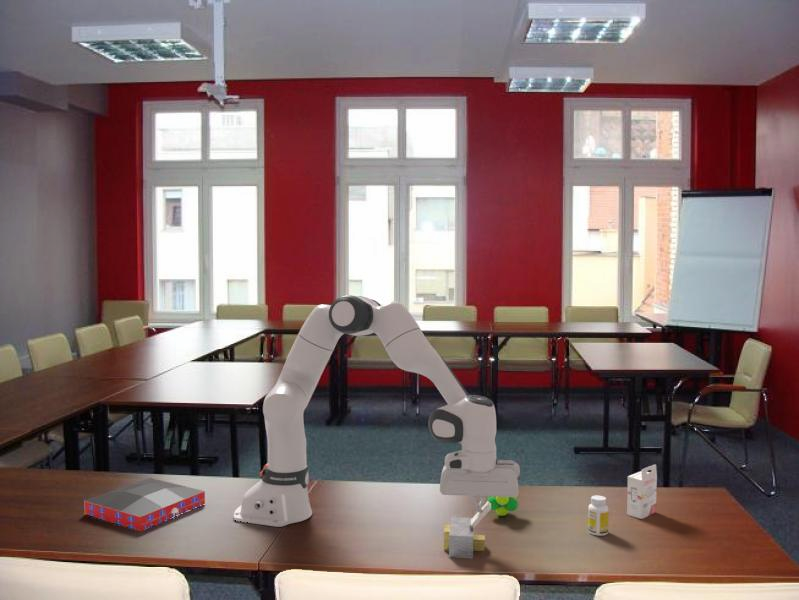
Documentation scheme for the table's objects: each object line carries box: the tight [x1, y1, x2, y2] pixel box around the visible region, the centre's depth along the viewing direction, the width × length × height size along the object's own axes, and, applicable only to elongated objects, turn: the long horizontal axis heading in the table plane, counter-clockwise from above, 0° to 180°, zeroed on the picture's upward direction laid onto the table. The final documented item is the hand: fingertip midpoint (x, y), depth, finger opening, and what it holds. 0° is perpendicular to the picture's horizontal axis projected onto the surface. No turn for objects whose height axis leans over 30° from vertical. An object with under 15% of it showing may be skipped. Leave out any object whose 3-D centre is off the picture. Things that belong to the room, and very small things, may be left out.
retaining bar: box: [469, 500, 492, 529], centre depth 184 cm, size 1×4×8 cm
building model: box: [83, 477, 206, 532], centre depth 210 cm, size 24×25×7 cm
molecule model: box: [485, 495, 519, 517], centre depth 207 cm, size 8×8×8 cm
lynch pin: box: [443, 523, 486, 552], centre depth 185 cm, size 10×5×5 cm, turn 83°
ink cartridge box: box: [626, 464, 658, 520], centre depth 209 cm, size 9×5×15 cm, turn 131°
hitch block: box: [448, 516, 475, 560], centre depth 185 cm, size 6×12×6 cm, turn 173°
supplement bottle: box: [587, 494, 610, 537], centre depth 195 cm, size 5×5×10 cm
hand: (478, 511), depth 184 cm, fingers closed, pressing on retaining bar
